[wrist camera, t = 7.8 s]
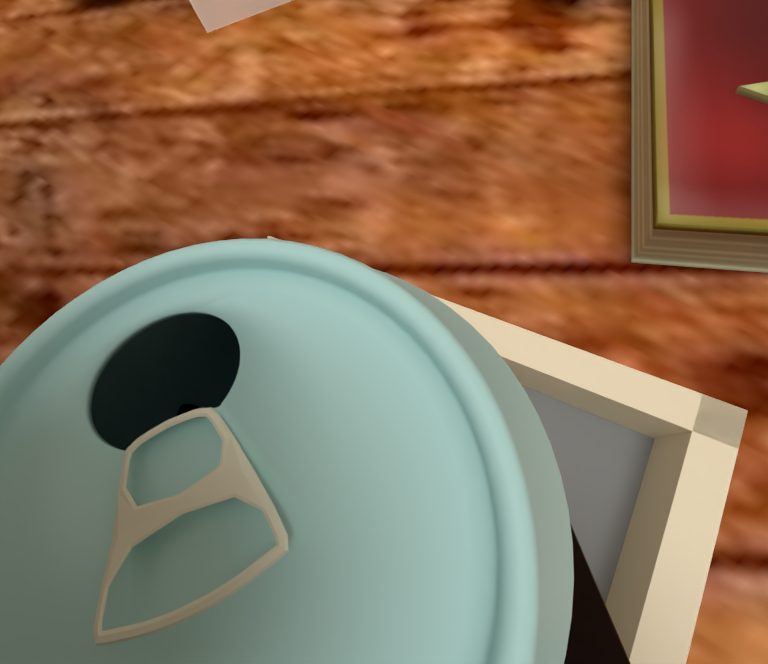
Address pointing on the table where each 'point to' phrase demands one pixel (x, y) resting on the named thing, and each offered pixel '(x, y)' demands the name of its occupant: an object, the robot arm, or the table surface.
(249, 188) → the table surface
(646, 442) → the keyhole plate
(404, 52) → the table surface
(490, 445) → the can
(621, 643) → the robot arm
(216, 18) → the twin open-top boxes
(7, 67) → the table surface
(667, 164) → the hardcover book
